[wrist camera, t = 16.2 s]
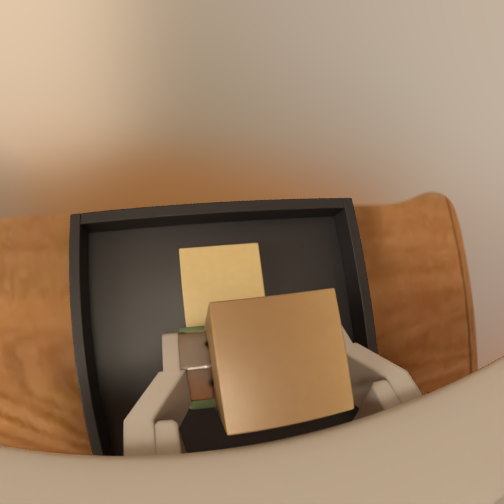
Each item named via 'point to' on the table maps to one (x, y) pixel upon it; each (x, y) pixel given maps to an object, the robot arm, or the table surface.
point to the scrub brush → (276, 360)
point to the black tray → (171, 298)
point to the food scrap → (218, 277)
